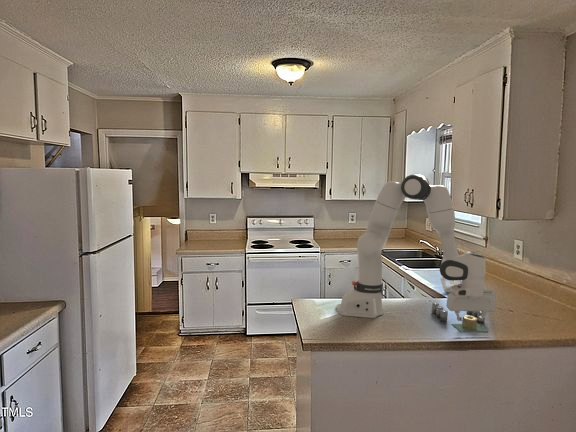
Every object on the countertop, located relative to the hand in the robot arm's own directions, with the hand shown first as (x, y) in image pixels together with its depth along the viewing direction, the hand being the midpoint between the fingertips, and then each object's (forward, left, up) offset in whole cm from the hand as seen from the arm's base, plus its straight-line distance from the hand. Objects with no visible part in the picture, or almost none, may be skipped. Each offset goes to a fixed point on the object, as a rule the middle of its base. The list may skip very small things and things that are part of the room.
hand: (469, 320), depth 171 cm
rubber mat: (0, 0, -4) cm, 4 cm away
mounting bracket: (+16, +52, -4) cm, 55 cm away
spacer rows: (0, +12, -4) cm, 13 cm away
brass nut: (0, 0, -3) cm, 3 cm away
